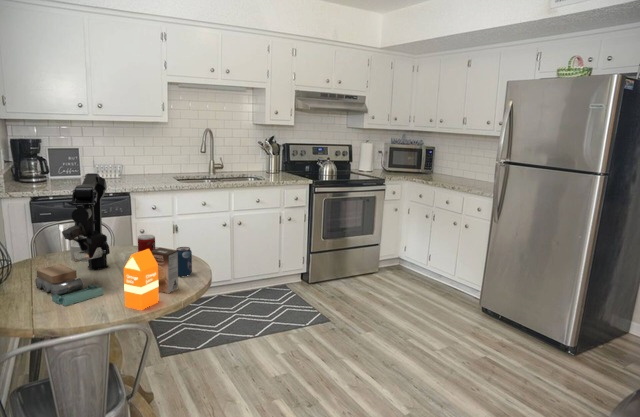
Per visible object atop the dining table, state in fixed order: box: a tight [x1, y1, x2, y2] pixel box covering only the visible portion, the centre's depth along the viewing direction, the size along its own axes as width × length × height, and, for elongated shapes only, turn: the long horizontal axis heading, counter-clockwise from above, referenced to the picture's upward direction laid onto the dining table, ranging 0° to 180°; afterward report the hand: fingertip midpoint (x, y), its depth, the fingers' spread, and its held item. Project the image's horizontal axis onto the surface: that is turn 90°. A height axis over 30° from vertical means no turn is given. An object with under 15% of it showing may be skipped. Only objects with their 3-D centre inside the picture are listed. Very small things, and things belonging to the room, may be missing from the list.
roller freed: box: [73, 247, 103, 263], centre depth 174 cm, size 10×4×4 cm, turn 147°
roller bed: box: [35, 277, 104, 307], centre depth 168 cm, size 15×26×4 cm, turn 56°
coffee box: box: [151, 247, 179, 294], centre depth 173 cm, size 9×6×16 cm
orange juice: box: [123, 249, 160, 311], centre depth 158 cm, size 8×9×20 cm
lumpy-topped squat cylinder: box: [70, 241, 88, 262], centre depth 208 cm, size 10×13×9 cm
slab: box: [36, 263, 78, 284], centre depth 170 cm, size 9×12×3 cm
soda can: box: [175, 246, 193, 277], centre depth 191 cm, size 7×7×12 cm
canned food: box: [137, 234, 156, 252], centre depth 211 cm, size 8×8×11 cm
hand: (87, 256), depth 174 cm, fingers closed on roller freed, 4 cm apart
